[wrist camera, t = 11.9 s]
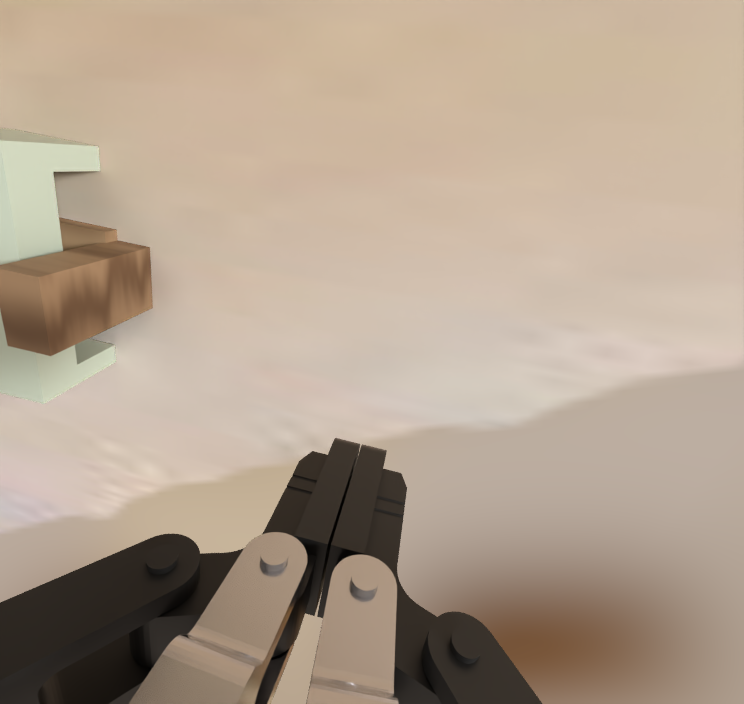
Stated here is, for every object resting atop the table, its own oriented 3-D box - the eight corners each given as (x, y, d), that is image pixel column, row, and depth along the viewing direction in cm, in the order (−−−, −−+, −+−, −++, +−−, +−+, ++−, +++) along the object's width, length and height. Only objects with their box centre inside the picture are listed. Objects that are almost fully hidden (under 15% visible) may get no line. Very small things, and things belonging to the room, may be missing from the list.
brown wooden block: (-1, 205, 41) (-165, 218, 30) (149, 236, 40) (35, 262, 29) (14, 285, 44) (-129, 324, 33) (153, 317, 43) (52, 368, 32)
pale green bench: (13, 129, 38) (-107, 118, 29) (98, 146, 37) (-1, 140, 29) (47, 345, 46) (-39, 383, 38) (116, 361, 46) (43, 404, 38)
